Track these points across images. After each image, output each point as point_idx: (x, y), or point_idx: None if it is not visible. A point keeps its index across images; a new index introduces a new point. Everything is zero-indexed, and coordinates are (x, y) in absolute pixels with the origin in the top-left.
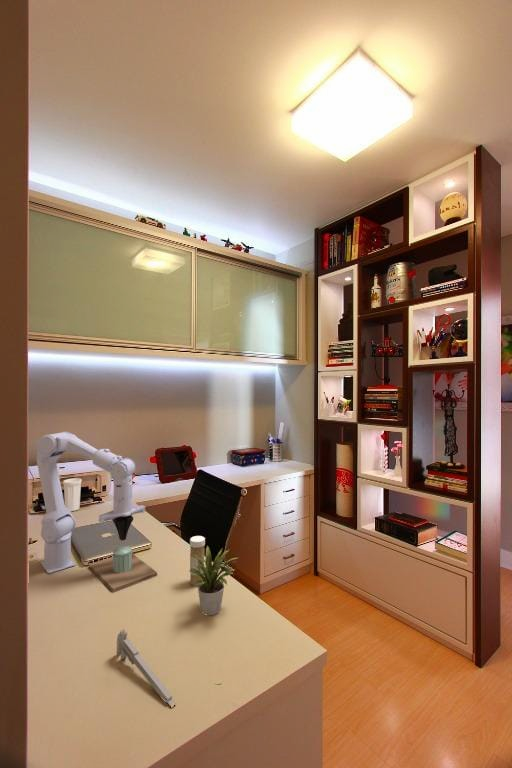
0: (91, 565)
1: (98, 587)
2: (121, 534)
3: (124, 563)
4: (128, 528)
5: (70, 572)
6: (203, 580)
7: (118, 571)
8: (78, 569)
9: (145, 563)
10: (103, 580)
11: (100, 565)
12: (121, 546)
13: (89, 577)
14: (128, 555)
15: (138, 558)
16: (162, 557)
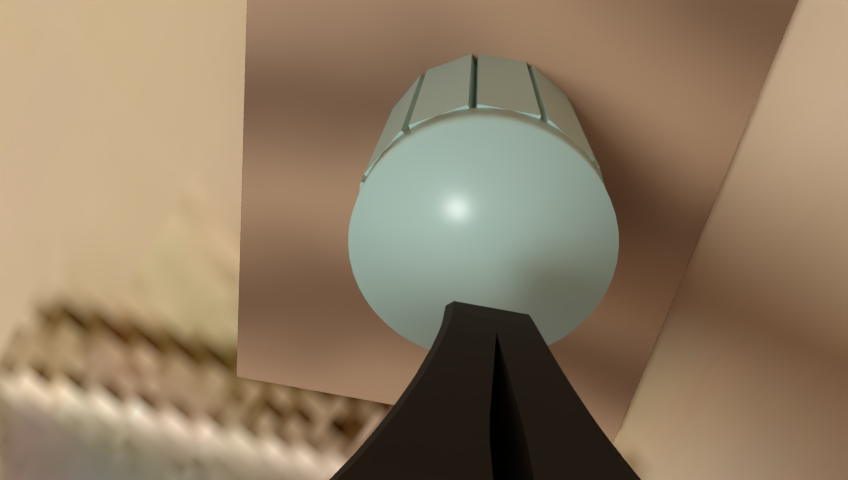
0: (613, 415)
1: (837, 54)
2: (575, 395)
3: (526, 86)
4: (389, 431)
5: (740, 461)
6: None
7: (571, 105)
8: (674, 455)
9: (246, 40)
10: (745, 107)
11: (569, 360)
12: (425, 343)
13: (727, 287)
14: (468, 105)
15: (245, 201)
16: (16, 59)
